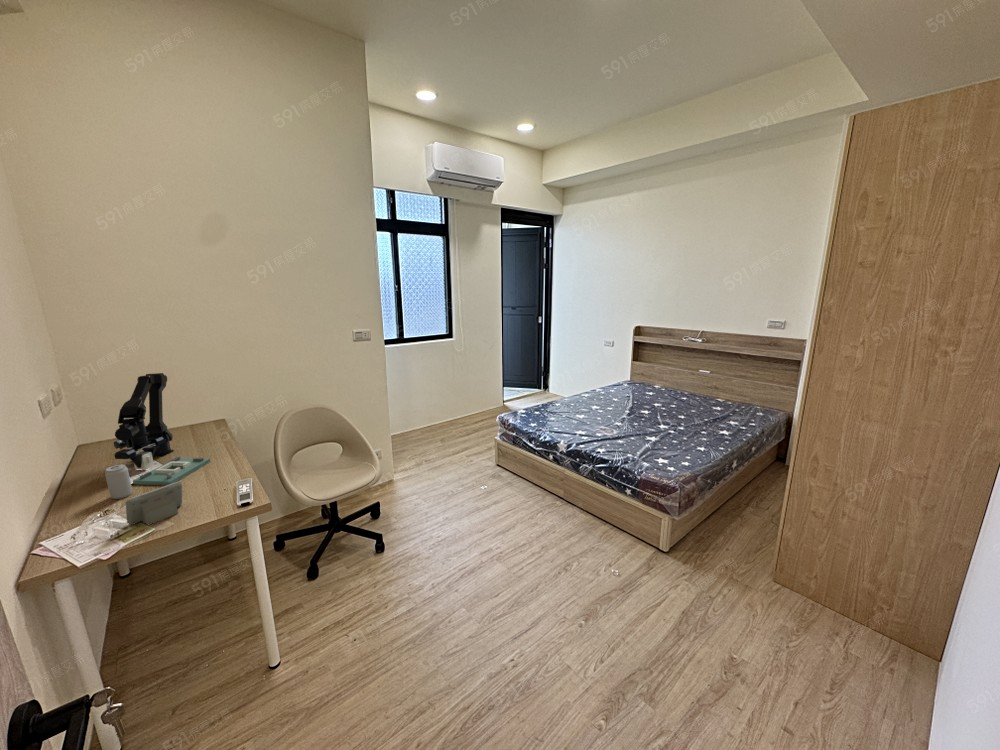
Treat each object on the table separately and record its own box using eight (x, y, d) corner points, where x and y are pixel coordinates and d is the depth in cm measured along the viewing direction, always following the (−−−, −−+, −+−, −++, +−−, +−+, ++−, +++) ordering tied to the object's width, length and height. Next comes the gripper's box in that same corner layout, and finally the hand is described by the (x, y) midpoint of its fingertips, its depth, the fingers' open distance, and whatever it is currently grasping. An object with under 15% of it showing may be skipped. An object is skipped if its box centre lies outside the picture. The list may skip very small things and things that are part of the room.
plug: (144, 466, 182) (141, 451, 181) (156, 466, 182) (153, 451, 181) (135, 470, 178) (132, 455, 176) (147, 471, 178) (144, 455, 176)
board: (177, 461, 188) (175, 454, 187) (210, 461, 187) (209, 455, 186) (133, 484, 166) (131, 476, 166) (171, 485, 166) (169, 477, 165)
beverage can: (129, 490, 162) (123, 462, 159) (135, 494, 158) (129, 466, 156) (108, 497, 156) (101, 468, 154) (114, 501, 153) (107, 472, 150)
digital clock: (183, 503, 153) (178, 477, 150) (189, 512, 147) (184, 485, 144) (126, 521, 141) (119, 493, 138) (130, 531, 135) (123, 503, 133)
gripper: (139, 424, 186) (145, 456, 189) (98, 440, 168) (106, 474, 171) (162, 425, 185) (168, 456, 189) (124, 440, 167) (131, 475, 171)
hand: (144, 465), depth 180 cm, fingers closed on plug, 4 cm apart
